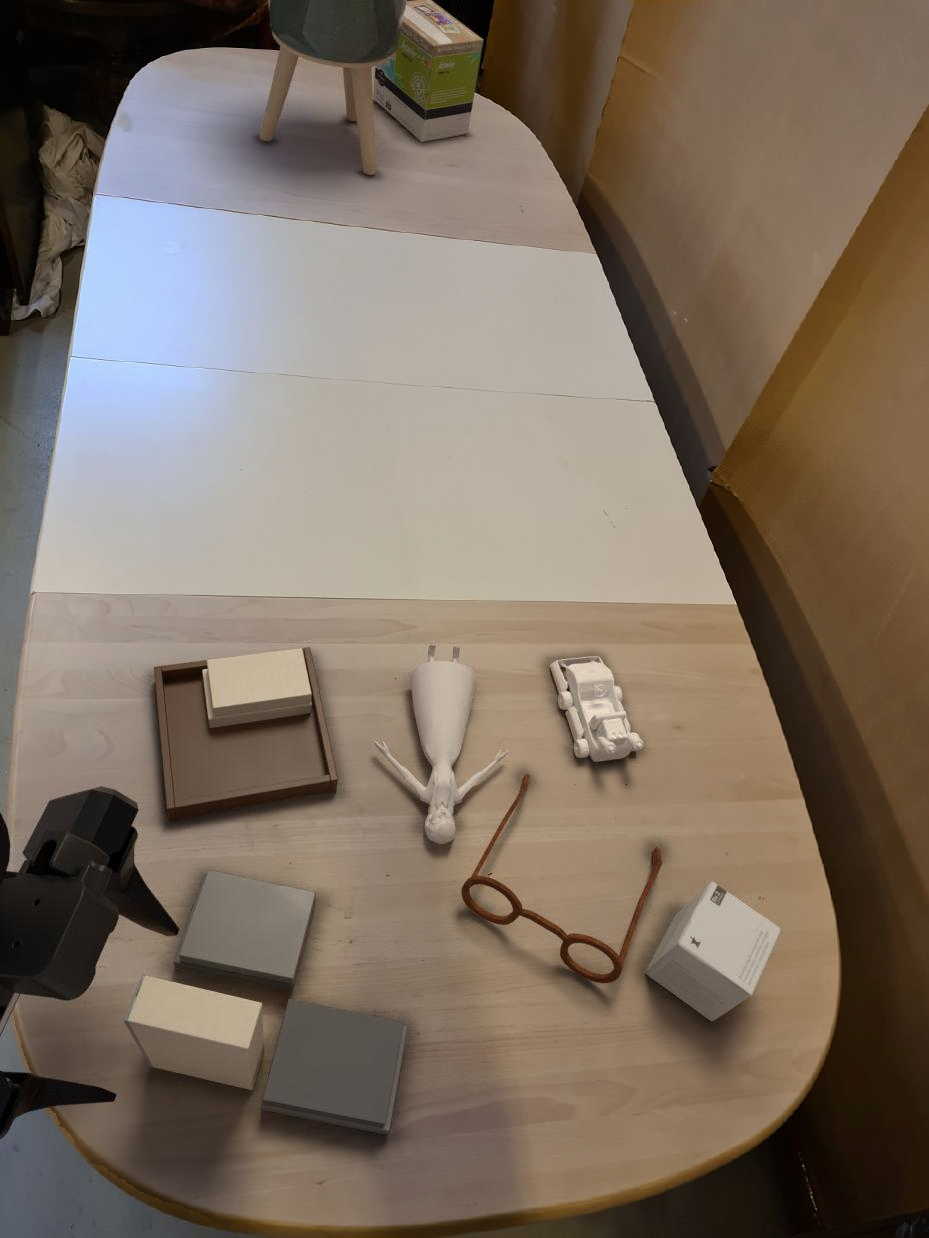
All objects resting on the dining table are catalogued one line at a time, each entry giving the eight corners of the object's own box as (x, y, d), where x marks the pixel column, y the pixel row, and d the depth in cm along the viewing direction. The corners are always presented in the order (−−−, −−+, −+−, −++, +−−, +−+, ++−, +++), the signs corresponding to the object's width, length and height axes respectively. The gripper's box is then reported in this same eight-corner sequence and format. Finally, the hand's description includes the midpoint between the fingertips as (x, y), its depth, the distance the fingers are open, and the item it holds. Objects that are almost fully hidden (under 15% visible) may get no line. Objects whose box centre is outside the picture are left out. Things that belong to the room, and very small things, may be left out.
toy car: (602, 658, 86) (616, 632, 82) (643, 768, 79) (660, 745, 76) (543, 664, 84) (554, 637, 81) (580, 777, 77) (594, 753, 74)
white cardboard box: (711, 1023, 67) (753, 998, 61) (642, 973, 68) (677, 943, 62) (742, 958, 70) (784, 928, 64) (675, 911, 71) (711, 878, 66)
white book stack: (209, 728, 73) (207, 710, 71) (203, 678, 76) (200, 659, 74) (311, 713, 76) (312, 695, 74) (301, 665, 79) (302, 646, 76)
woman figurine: (511, 642, 79) (518, 838, 69) (501, 667, 83) (506, 855, 73) (381, 631, 77) (370, 829, 68) (377, 657, 81) (365, 848, 71)
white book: (149, 1066, 59) (123, 1020, 48) (164, 1026, 60) (142, 973, 50) (252, 1090, 59) (248, 1049, 49) (264, 1050, 60) (262, 1002, 50)
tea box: (370, 101, 148) (378, 0, 137) (418, 94, 153) (430, -4, 141) (420, 144, 142) (434, 42, 131) (469, 135, 147) (486, 37, 135)
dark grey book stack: (261, 1109, 58) (260, 1102, 56) (288, 1006, 62) (288, 995, 60) (387, 1134, 59) (391, 1128, 56) (405, 1030, 63) (410, 1020, 60)
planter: (362, 106, 147) (380, -148, 121) (423, 172, 137) (458, -89, 111) (236, 115, 138) (227, -157, 112) (293, 187, 128) (297, -94, 102)
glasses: (454, 903, 69) (465, 880, 65) (524, 775, 77) (537, 748, 73) (605, 992, 67) (626, 974, 63) (661, 851, 74) (683, 827, 70)
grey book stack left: (175, 968, 63) (171, 955, 60) (205, 880, 67) (202, 865, 64) (292, 992, 63) (293, 981, 61) (315, 904, 67) (317, 890, 65)
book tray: (169, 820, 69) (166, 809, 67) (156, 679, 76) (153, 666, 74) (336, 790, 73) (338, 779, 71) (309, 659, 80) (310, 646, 78)
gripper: (-154, 1129, 32) (169, 1215, 41) (73, 709, 44) (288, 847, 53) (-262, 1114, 38) (41, 1192, 47) (-37, 747, 50) (172, 866, 59)
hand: (144, 1010), depth 51 cm, fingers open, 9 cm apart
